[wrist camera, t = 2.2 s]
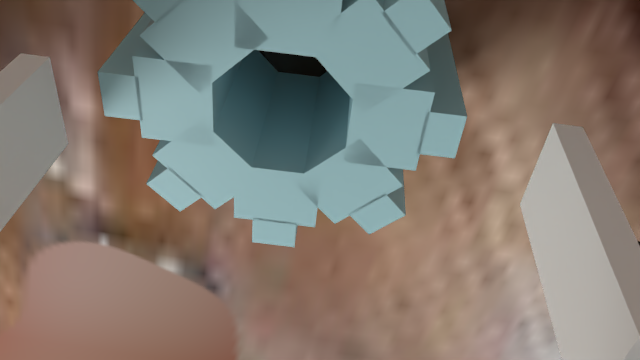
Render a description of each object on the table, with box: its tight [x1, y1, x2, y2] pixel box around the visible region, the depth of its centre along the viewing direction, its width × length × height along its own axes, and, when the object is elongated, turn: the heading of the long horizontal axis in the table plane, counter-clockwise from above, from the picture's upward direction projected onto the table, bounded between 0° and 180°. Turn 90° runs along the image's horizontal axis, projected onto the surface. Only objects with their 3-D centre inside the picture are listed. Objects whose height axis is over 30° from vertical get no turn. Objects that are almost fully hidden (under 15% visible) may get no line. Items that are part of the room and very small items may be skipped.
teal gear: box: [98, 0, 467, 247], centre depth 18 cm, size 10×10×6 cm
